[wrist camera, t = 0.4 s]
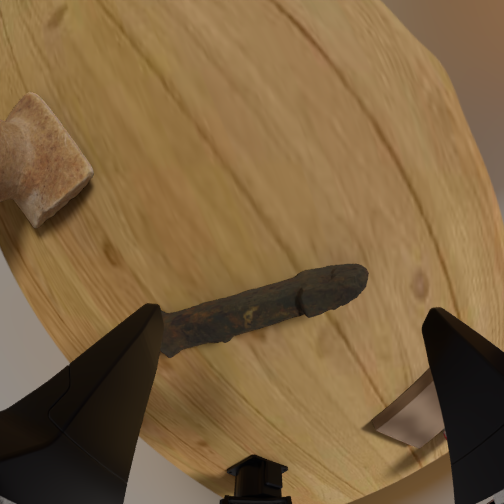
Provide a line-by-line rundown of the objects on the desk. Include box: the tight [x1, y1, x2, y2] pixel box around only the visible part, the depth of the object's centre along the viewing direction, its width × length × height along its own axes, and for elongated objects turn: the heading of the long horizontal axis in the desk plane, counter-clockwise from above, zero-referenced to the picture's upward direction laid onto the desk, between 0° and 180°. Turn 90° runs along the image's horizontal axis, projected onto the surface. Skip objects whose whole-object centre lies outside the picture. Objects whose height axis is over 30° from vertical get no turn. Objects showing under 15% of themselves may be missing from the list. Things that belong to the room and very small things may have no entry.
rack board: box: [372, 368, 445, 448], centre depth 26 cm, size 16×13×4 cm
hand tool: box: [160, 264, 369, 358], centre depth 23 cm, size 19×4×5 cm, turn 107°
